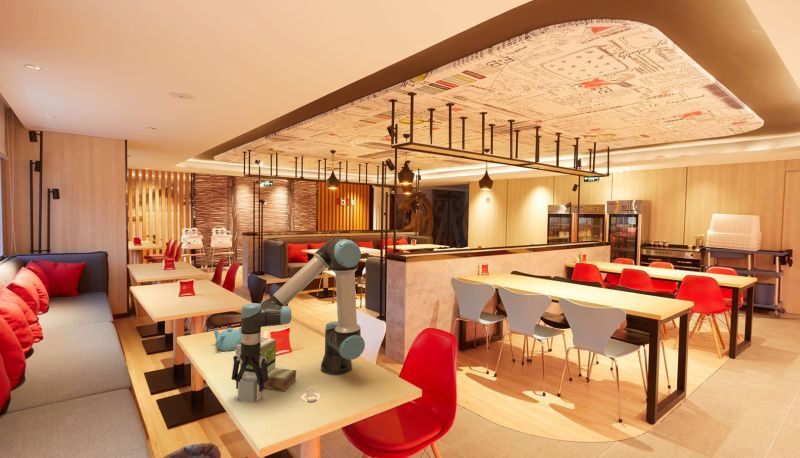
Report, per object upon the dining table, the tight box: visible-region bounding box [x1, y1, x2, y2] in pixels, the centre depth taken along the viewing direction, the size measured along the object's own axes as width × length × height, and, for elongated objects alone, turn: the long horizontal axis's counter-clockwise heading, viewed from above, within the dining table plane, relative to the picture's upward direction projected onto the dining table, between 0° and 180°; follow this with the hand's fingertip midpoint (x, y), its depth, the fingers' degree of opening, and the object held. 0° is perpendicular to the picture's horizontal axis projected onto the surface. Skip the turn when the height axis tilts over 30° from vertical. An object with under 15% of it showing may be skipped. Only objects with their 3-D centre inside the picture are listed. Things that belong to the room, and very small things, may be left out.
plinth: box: [263, 367, 297, 392], centre depth 177 cm, size 11×11×5 cm
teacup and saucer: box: [300, 386, 322, 402], centre depth 166 cm, size 9×8×4 cm
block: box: [238, 375, 259, 403], centre depth 163 cm, size 6×6×8 cm
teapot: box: [213, 327, 242, 352], centre depth 222 cm, size 15×15×11 cm
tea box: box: [239, 337, 277, 379], centre depth 188 cm, size 15×10×15 cm, turn 168°
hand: (249, 397), depth 164 cm, fingers open, 7 cm apart
